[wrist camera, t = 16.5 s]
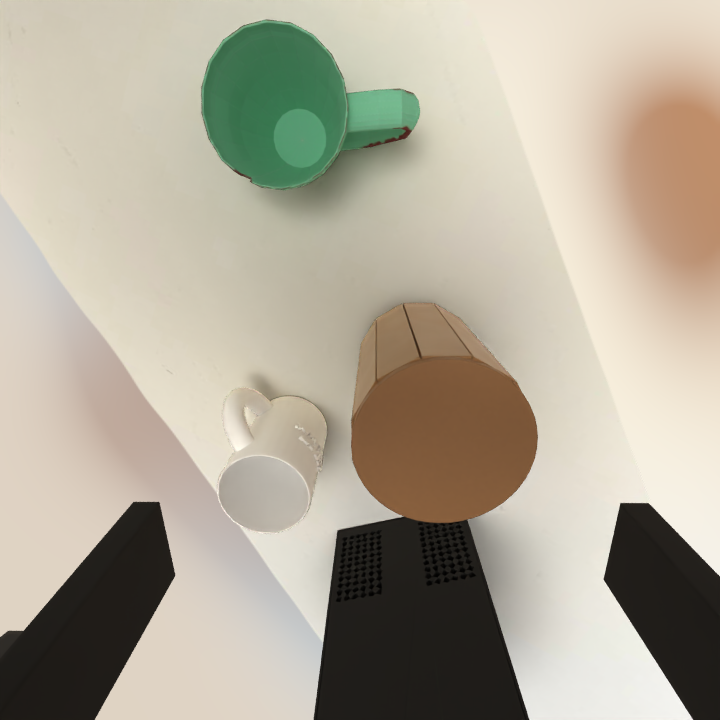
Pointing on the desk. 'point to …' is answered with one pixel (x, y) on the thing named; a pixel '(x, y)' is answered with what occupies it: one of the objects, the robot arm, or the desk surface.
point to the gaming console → (413, 629)
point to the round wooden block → (437, 418)
